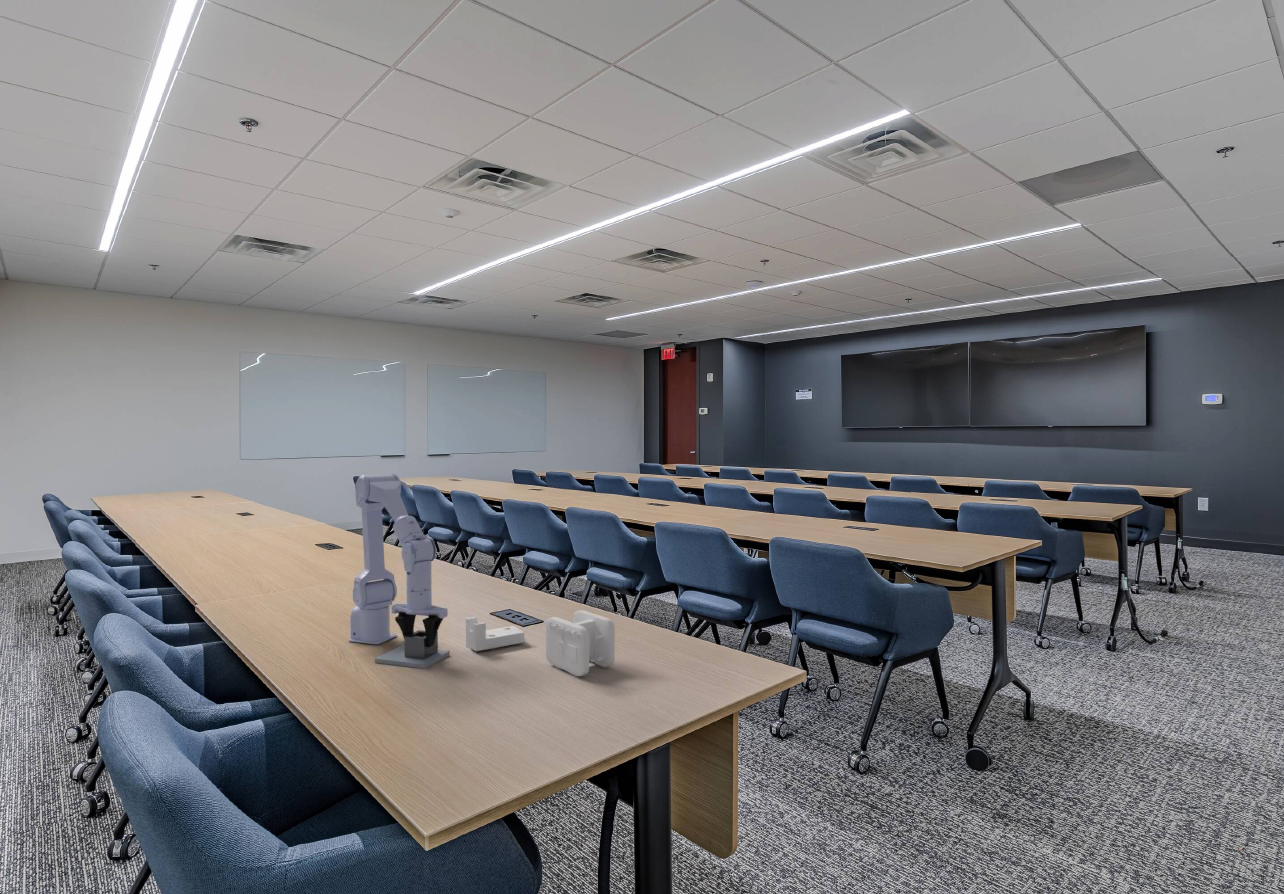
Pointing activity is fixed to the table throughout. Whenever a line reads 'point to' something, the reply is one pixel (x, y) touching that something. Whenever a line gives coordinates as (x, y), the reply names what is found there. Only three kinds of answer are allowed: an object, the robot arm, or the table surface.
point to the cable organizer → (580, 642)
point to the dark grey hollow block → (419, 645)
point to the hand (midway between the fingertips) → (419, 644)
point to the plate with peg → (399, 658)
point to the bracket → (490, 636)
